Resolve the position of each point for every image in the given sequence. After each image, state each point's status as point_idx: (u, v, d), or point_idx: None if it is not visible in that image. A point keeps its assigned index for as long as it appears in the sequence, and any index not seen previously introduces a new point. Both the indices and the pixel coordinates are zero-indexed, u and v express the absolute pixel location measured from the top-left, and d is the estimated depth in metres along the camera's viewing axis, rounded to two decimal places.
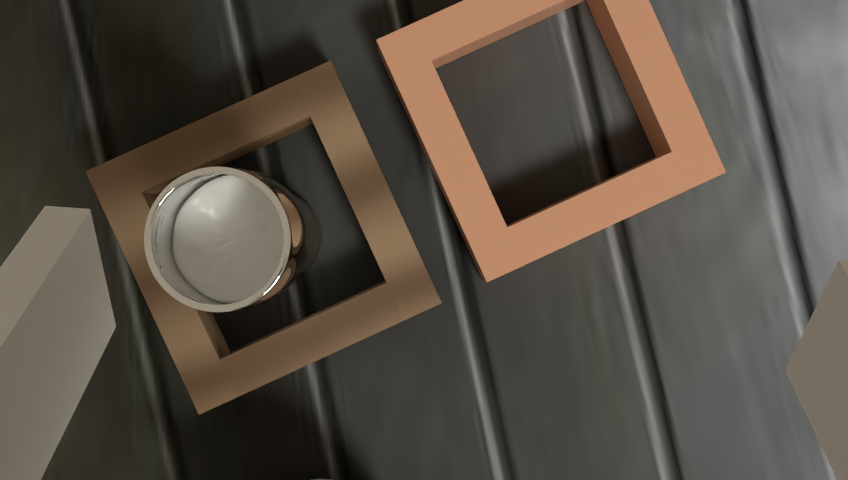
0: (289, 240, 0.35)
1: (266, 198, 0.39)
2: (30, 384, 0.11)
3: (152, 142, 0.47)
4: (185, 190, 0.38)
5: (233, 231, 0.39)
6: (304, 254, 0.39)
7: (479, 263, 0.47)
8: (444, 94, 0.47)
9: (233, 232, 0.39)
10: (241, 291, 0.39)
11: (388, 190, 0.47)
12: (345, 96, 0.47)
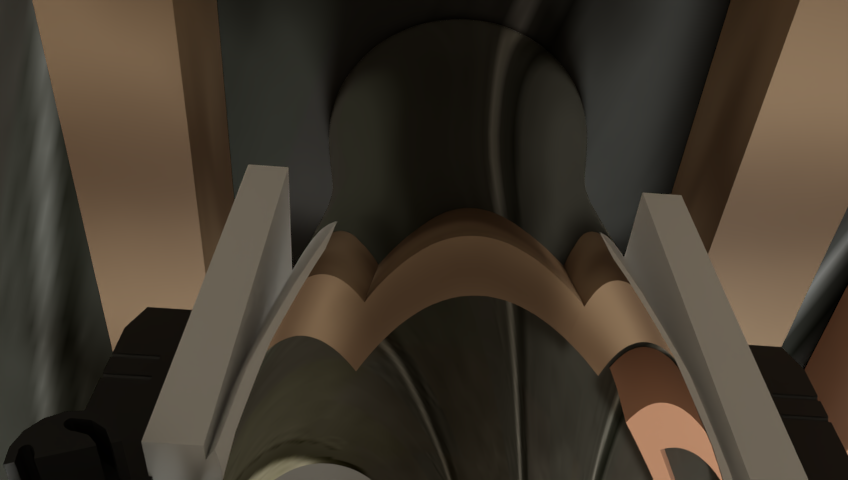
0: None
1: None
2: (262, 316, 0.13)
3: None
4: None
5: None
6: None
7: None
8: None
9: None
10: None
11: (821, 255, 0.17)
12: None
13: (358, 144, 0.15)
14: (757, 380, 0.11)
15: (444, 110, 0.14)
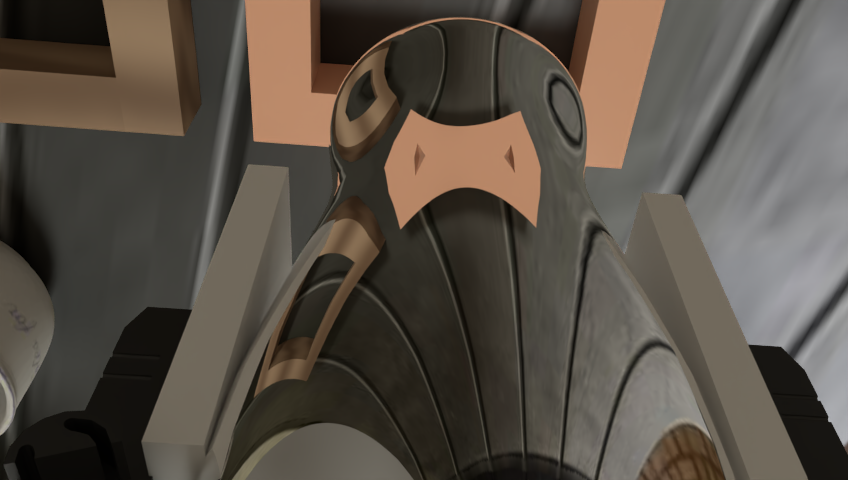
0: None
1: None
2: (262, 316, 0.13)
3: None
4: None
5: None
6: None
7: (253, 116, 0.33)
8: None
9: None
10: None
11: None
12: None
13: (358, 142, 0.15)
14: (757, 380, 0.11)
15: (444, 107, 0.14)
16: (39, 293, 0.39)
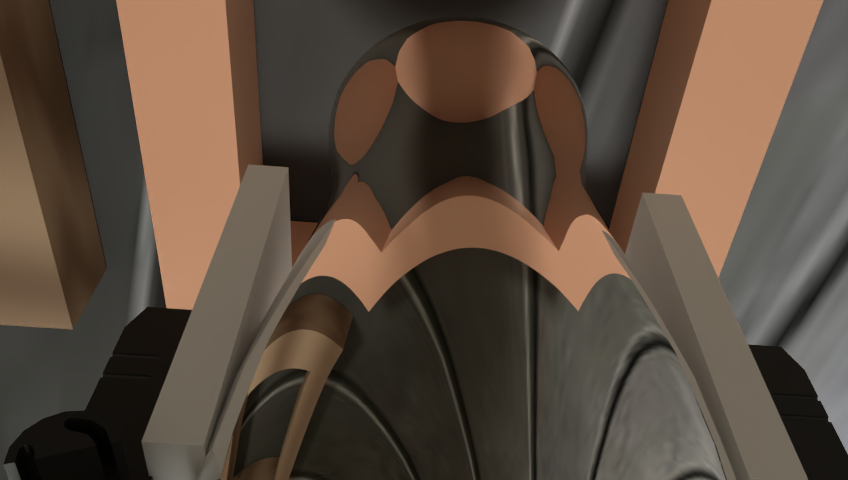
0: None
1: None
2: (262, 316, 0.13)
3: None
4: None
5: None
6: None
7: (168, 306, 0.23)
8: None
9: None
10: None
11: (10, 109, 0.20)
12: None
13: (358, 142, 0.15)
14: (757, 380, 0.11)
15: (444, 107, 0.14)
16: None
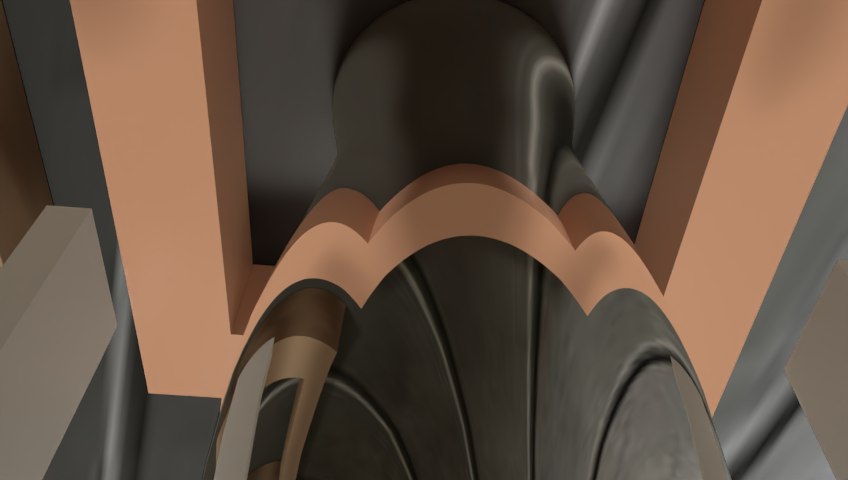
0: None
1: None
2: (32, 383, 0.12)
3: None
4: None
5: None
6: None
7: (144, 362, 0.21)
8: (191, 7, 0.16)
9: None
10: None
11: None
12: None
13: (361, 106, 0.16)
14: None
15: (441, 73, 0.16)
16: None
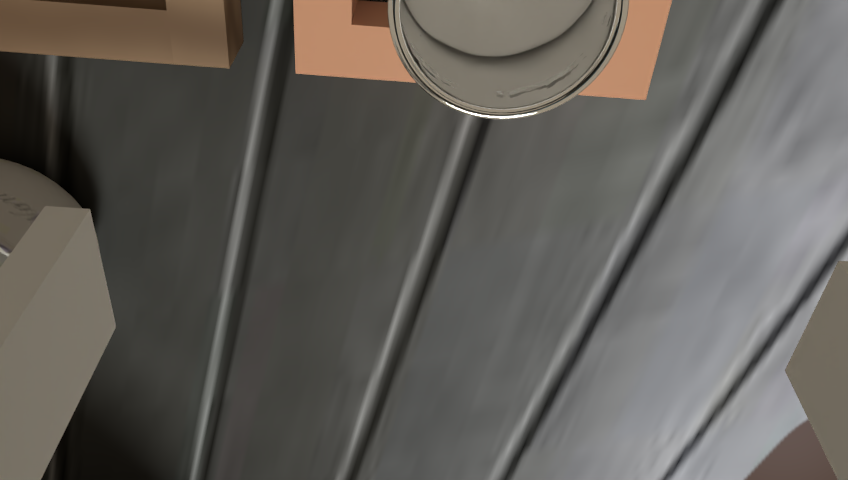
0: (602, 69, 0.22)
1: None
2: (30, 384, 0.11)
3: None
4: None
5: None
6: None
7: (296, 48, 0.35)
8: None
9: None
10: (463, 37, 0.26)
11: None
12: None
13: None
14: None
15: None
16: None
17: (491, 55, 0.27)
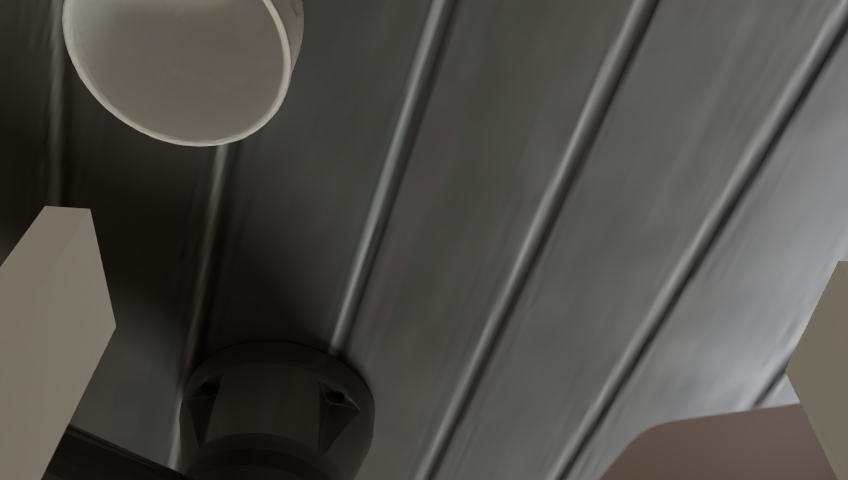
0: None
1: None
2: (30, 384, 0.11)
3: None
4: None
5: None
6: None
7: None
8: None
9: None
10: None
11: None
12: None
13: None
14: None
15: None
16: None
17: None
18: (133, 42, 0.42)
